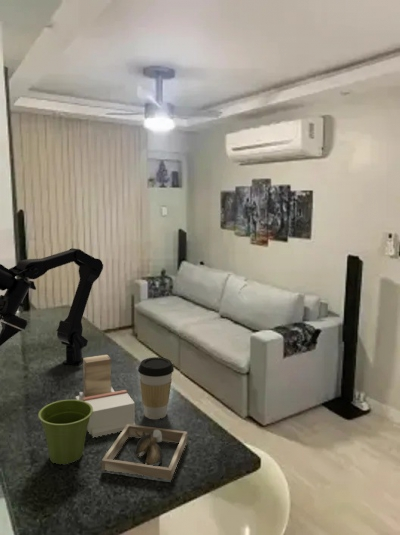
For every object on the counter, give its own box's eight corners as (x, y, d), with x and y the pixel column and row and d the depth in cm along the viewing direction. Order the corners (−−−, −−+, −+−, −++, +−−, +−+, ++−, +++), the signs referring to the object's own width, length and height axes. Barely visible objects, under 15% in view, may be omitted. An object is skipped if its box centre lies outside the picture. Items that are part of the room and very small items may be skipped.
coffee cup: (178, 409, 121) (179, 359, 119) (164, 425, 112) (165, 372, 110) (147, 403, 124) (147, 354, 122) (131, 418, 115) (131, 366, 113)
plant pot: (64, 479, 89) (62, 430, 88) (28, 460, 95) (26, 414, 94) (104, 452, 99) (103, 407, 98) (69, 437, 105) (68, 394, 104)
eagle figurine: (125, 445, 101) (126, 460, 92) (141, 418, 102) (144, 431, 93) (152, 460, 102) (155, 477, 93) (167, 433, 103) (173, 448, 94)
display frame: (127, 435, 107) (127, 424, 106) (187, 443, 104) (187, 431, 104) (101, 472, 92) (101, 460, 91) (170, 483, 89) (171, 470, 88)
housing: (73, 400, 125) (73, 380, 124) (113, 393, 130) (113, 373, 129) (91, 438, 105) (90, 414, 104) (137, 428, 110) (137, 405, 109)
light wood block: (83, 396, 124) (82, 357, 122) (106, 391, 127) (106, 353, 126) (86, 402, 120) (86, 362, 118) (110, 398, 123) (110, 359, 122)
